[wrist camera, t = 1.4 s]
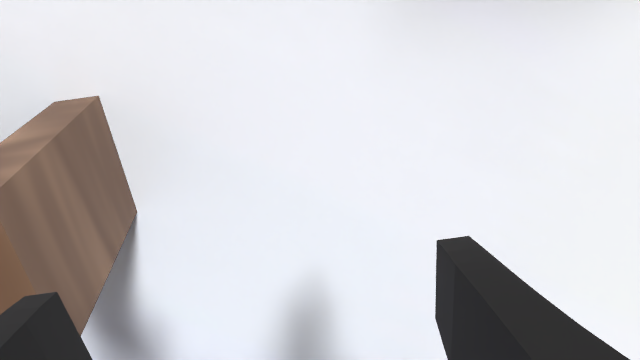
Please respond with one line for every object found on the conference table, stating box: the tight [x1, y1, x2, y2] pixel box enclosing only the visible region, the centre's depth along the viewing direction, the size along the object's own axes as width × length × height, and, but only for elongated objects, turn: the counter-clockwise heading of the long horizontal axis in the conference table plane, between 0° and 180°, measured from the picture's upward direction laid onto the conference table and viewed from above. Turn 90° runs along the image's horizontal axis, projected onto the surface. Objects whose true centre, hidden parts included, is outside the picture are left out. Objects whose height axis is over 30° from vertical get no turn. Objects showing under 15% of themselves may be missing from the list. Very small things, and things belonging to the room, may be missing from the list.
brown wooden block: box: [0, 96, 137, 337], centre depth 15 cm, size 2×5×8 cm, turn 7°
